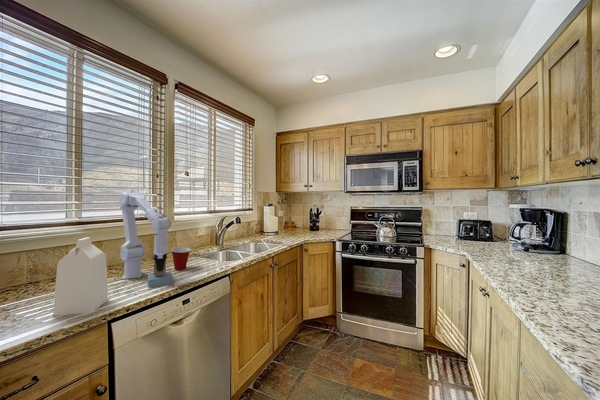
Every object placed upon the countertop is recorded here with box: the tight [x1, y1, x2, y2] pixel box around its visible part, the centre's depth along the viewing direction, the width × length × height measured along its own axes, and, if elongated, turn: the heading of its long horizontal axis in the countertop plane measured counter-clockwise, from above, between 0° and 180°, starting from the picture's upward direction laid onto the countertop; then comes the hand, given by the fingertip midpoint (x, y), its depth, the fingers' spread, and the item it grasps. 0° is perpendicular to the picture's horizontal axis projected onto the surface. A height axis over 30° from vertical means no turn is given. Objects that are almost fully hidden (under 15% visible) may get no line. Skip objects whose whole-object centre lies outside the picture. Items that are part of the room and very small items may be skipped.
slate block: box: [147, 270, 174, 289], centre depth 121 cm, size 10×10×4 cm
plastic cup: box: [170, 246, 192, 271], centre depth 144 cm, size 11×11×12 cm
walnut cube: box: [153, 261, 167, 275], centre depth 121 cm, size 5×5×5 cm
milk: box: [52, 236, 109, 317], centre depth 93 cm, size 12×12×26 cm
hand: (160, 269), depth 121 cm, fingers closed on walnut cube, 5 cm apart
